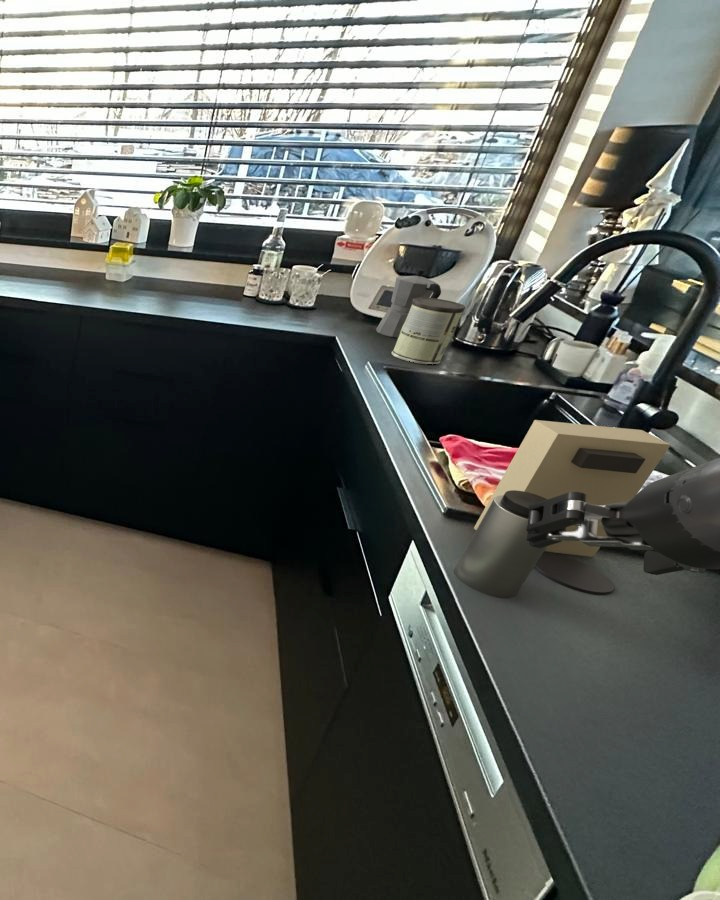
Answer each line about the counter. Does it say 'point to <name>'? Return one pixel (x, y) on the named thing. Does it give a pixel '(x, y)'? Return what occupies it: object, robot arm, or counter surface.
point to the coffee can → (427, 330)
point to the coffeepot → (406, 301)
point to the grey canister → (501, 547)
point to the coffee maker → (580, 483)
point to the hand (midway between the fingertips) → (589, 550)
